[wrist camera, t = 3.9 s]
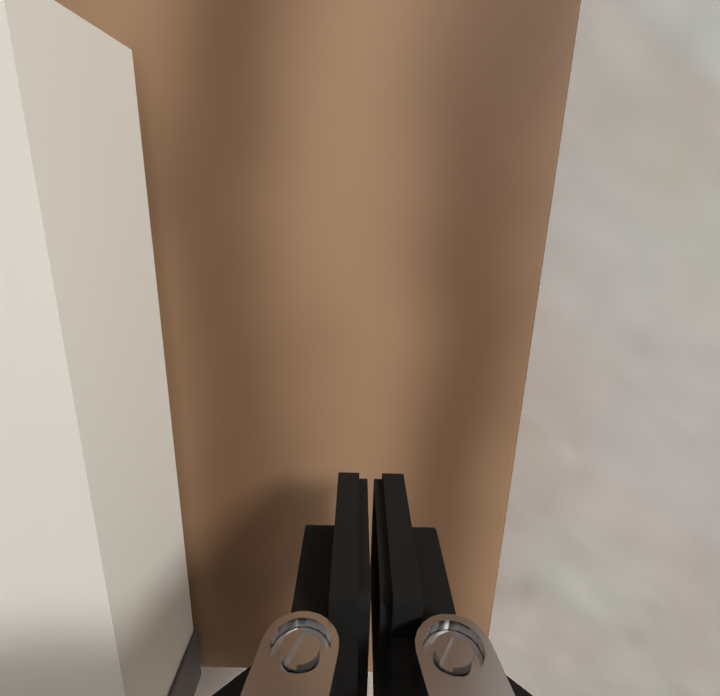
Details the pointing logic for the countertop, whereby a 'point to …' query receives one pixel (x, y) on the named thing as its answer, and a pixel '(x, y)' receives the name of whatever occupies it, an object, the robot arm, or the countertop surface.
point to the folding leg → (82, 380)
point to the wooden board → (342, 270)
